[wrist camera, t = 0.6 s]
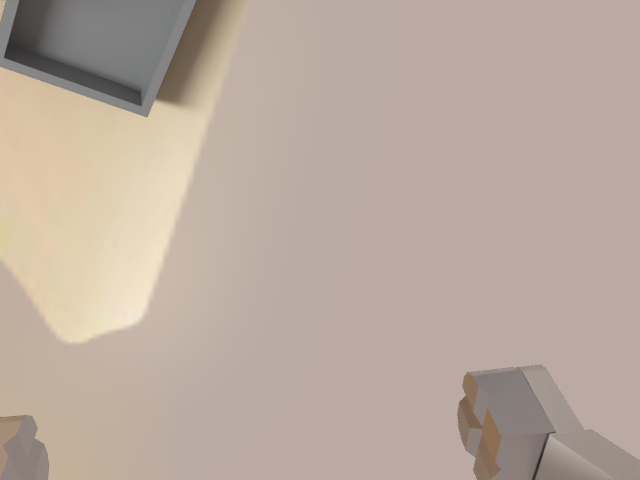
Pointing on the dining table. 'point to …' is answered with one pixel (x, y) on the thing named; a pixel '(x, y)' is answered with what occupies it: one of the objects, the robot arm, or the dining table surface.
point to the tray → (95, 45)
